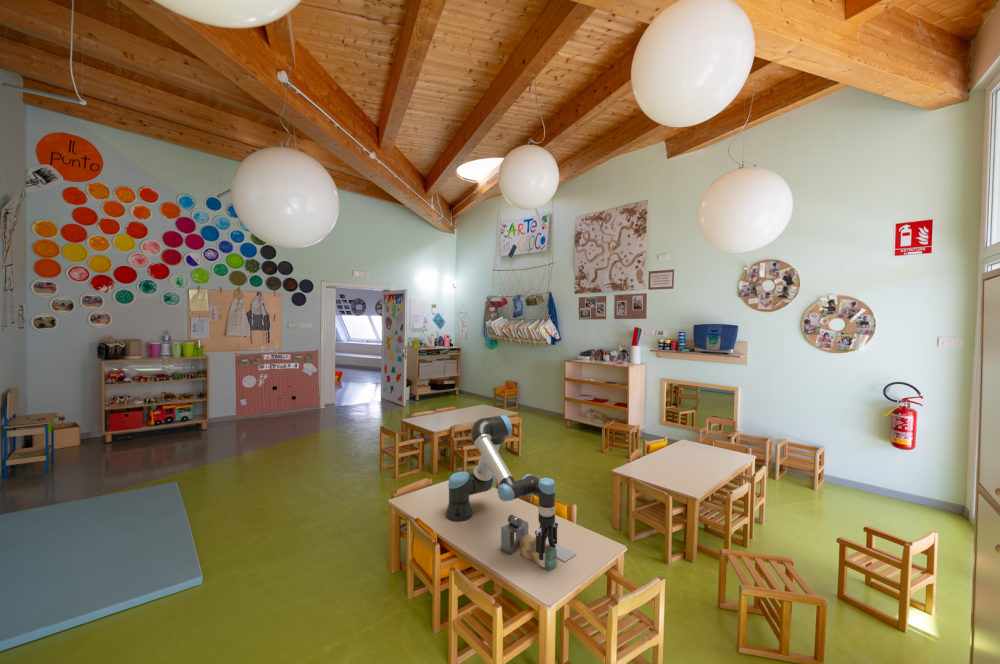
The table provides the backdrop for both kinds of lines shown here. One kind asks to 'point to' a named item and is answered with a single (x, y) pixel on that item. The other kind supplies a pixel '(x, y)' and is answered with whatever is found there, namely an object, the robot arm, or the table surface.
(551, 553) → the plug
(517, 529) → the housing
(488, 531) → the table surface
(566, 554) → the mat
